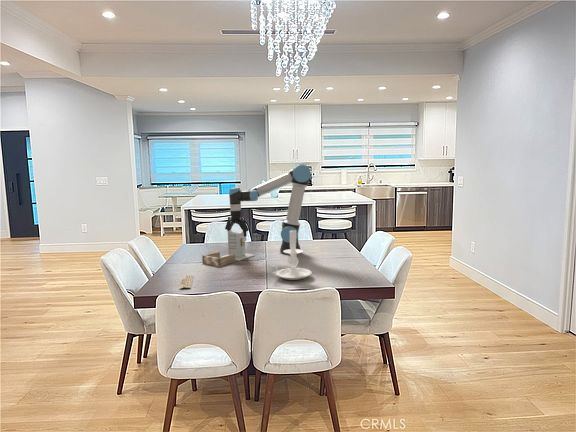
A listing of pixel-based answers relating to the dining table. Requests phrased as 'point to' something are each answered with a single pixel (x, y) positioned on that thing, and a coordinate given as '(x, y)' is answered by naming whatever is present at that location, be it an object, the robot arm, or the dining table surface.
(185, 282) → the newspaper
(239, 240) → the supplement box
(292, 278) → the candlestick
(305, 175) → the robot arm
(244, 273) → the dining table surface
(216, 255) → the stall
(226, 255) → the tile
